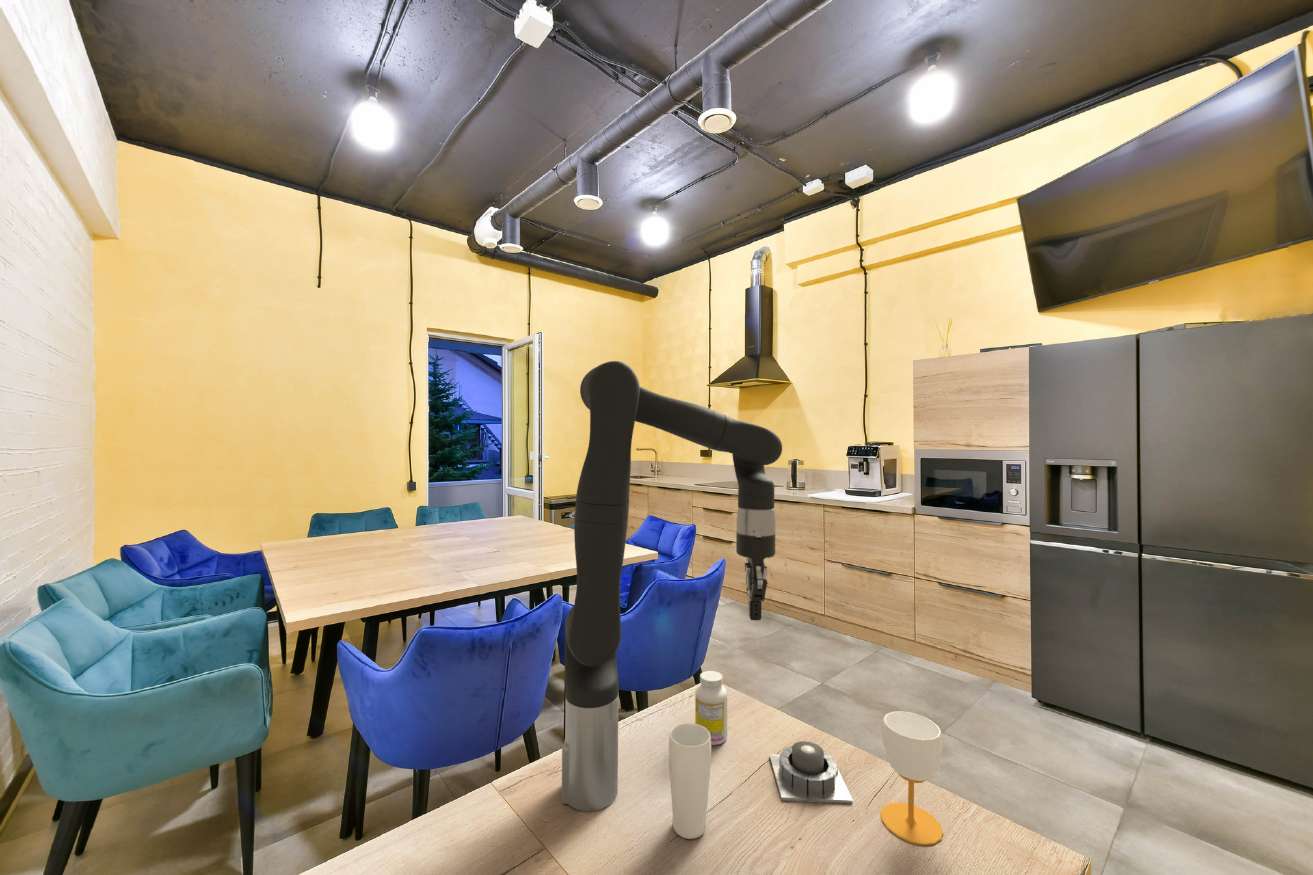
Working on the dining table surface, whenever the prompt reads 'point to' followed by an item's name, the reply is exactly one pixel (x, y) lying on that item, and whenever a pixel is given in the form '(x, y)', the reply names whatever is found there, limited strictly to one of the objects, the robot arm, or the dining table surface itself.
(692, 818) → the drinking glass
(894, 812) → the cup
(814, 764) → the cap
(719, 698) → the supplement bottle
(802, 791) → the segmented ring on plate
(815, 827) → the dining table surface
